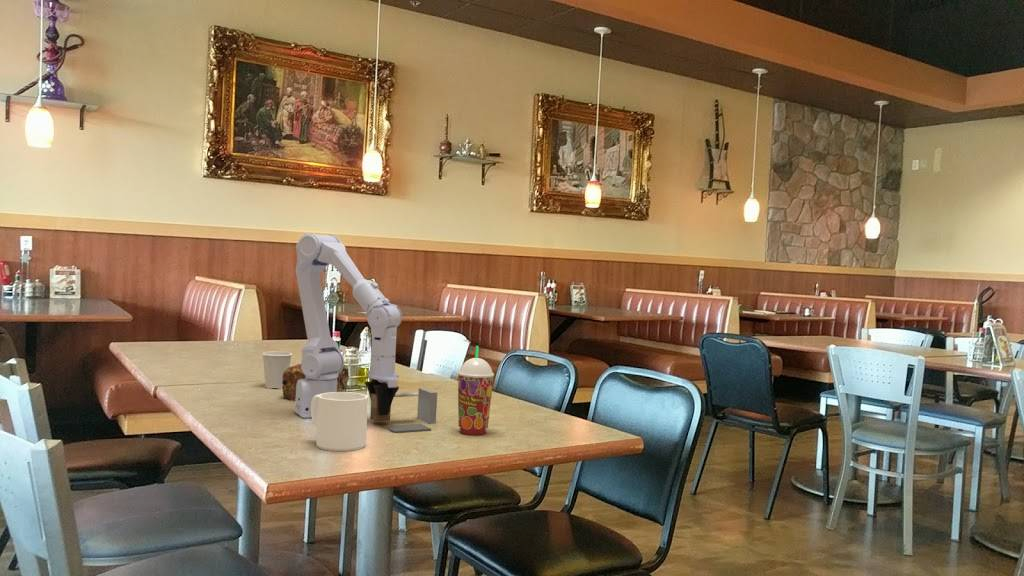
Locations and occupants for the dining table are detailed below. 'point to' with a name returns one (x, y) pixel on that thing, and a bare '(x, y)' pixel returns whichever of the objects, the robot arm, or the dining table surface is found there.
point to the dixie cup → (275, 367)
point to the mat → (407, 428)
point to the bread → (296, 373)
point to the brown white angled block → (374, 407)
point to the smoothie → (474, 395)
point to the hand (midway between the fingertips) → (380, 413)
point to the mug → (340, 420)
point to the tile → (427, 405)
